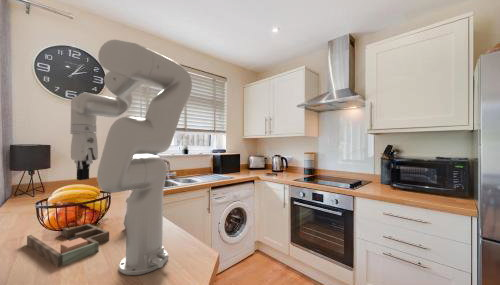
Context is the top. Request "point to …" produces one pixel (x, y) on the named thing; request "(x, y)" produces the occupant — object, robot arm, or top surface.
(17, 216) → the top surface
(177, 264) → the top surface
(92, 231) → the channel
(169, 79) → the robot arm
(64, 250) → the block
